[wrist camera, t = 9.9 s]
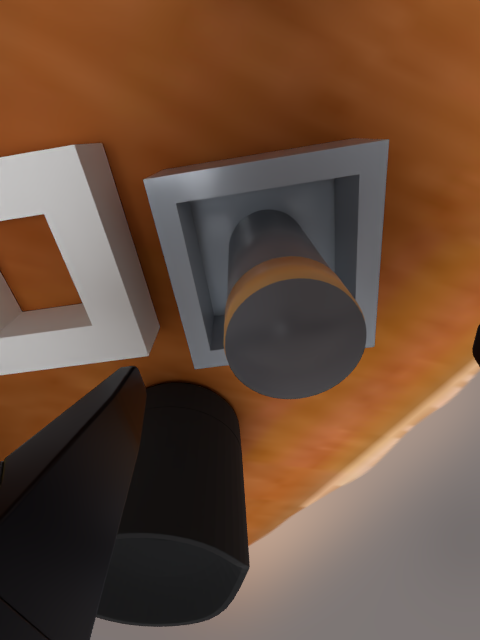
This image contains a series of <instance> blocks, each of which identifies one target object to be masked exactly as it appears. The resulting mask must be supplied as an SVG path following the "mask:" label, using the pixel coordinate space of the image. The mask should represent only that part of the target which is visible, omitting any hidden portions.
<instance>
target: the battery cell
mask: <svg viewBox="0 0 480 640" xmlns="http://www.w3.org/2000/svg"><path fill="white" fill-rule="evenodd" d="M366 338H367V331H366V324H365V319H364V316H363V313H362V310H361V308H360V307H359V305H358V303H357V302H356V300H355V299H354V298H353V296H352V295H351V293H350V292H349V291H348V289H347V288H346V287H345V285H344V284H343V283H342V281H341V280H340V279H339V277H338V276H337V275H336V274H335V273H334V272H333V271H332V270H331V269H330V267H329V266H328V265H327V263H326V262H325V260H324V259H323V258H322V256H321V255H320V253H319V252H318V251H317V249H316V248H315V246H314V245H313V244H312V242H311V241H310V239H309V238H308V237H307V235H306V234H305V232H304V231H303V230H302V228H301V227H300V225H299V224H298V223H297V222H296V221H295V220H294V219H293V218H292V217H291V216H289V215H288V214H286V213H284V212H281V211H278V210H270V209H267V210H260V211H256V212H254V213H251V214H250V215H248V216H246V217H245V218H244V219H242V220H241V221H240V222H239V223H238V225H237V226H236V227H235V229H234V231H233V233H232V235H231V238H230V242H229V260H228V285H227V302H226V307H225V320H224V352H225V355H226V359H227V361H228V364H229V366H230V368H231V370H232V371H233V373H234V374H235V376H236V377H237V378H238V379H239V380H240V381H241V382H242V383H243V384H244V385H246V386H247V387H249V388H250V389H252V390H254V391H256V392H258V393H260V394H263V395H266V396H269V397H273V398H280V399H298V398H305V397H310V396H313V395H317V394H319V393H322V392H324V391H326V390H328V389H330V388H332V387H334V386H335V385H337V384H339V383H340V382H341V381H342V380H344V379H345V378H346V377H347V376H348V375H349V374H350V373H351V372H352V371H353V369H354V368H355V367H356V366H357V364H358V362H359V361H360V359H361V357H362V354H363V352H364V349H365V345H366Z"/></svg>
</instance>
